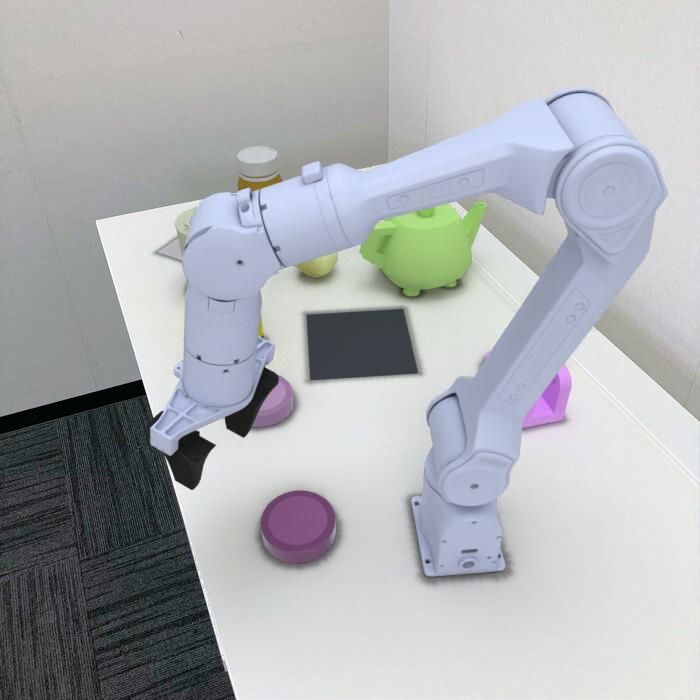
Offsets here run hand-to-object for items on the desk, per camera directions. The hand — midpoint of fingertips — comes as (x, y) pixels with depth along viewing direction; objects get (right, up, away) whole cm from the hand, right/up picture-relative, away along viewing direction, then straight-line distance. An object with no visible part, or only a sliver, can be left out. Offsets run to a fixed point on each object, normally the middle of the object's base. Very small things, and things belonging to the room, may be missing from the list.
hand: (212, 456), depth 64 cm
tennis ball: (+7, +21, +45) cm, 50 cm away
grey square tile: (-13, +26, +51) cm, 59 cm away
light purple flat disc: (+2, +3, +23) cm, 23 cm away
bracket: (+34, +5, +24) cm, 42 cm away
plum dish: (+7, -9, +8) cm, 14 cm away
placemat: (+14, +11, +32) cm, 36 cm away
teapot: (+24, +21, +44) cm, 54 cm away
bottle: (-1, +28, +52) cm, 59 cm away
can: (-7, +19, +42) cm, 47 cm away
